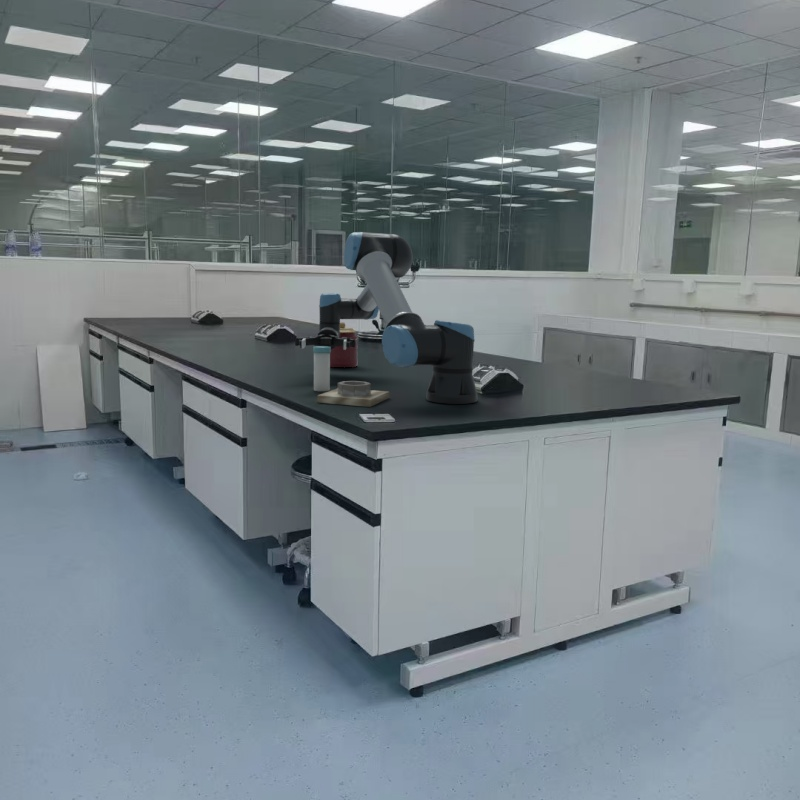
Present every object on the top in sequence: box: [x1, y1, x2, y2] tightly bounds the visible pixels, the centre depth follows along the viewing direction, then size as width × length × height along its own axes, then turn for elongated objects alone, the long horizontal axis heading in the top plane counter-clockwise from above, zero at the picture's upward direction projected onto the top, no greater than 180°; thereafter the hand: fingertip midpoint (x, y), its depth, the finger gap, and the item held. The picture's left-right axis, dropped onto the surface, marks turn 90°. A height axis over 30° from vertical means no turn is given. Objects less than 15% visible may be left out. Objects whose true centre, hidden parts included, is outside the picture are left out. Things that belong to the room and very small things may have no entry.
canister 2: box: [330, 321, 359, 369], centre depth 283 cm, size 13×13×18 cm
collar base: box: [316, 380, 390, 408], centre depth 206 cm, size 16×16×5 cm
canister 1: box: [312, 346, 331, 392], centre depth 222 cm, size 5×5×14 cm
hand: (323, 345), depth 231 cm, fingers open, 13 cm apart
